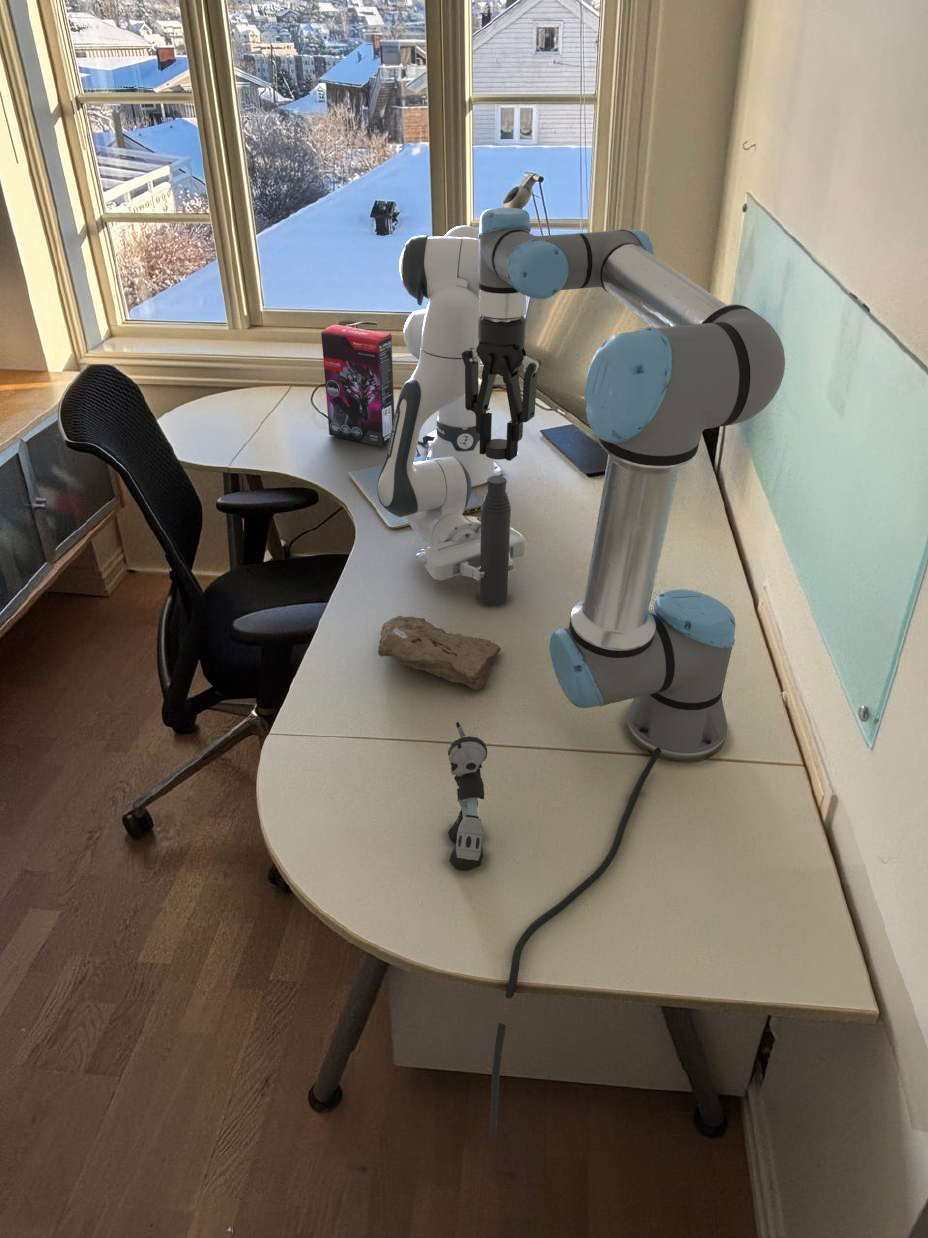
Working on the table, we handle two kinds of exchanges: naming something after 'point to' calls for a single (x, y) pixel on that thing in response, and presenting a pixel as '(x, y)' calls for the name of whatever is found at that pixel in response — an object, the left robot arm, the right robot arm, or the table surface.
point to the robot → (467, 799)
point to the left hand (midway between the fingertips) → (497, 571)
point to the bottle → (495, 543)
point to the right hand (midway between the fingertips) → (498, 454)
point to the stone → (438, 651)
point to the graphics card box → (359, 384)
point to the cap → (496, 449)
